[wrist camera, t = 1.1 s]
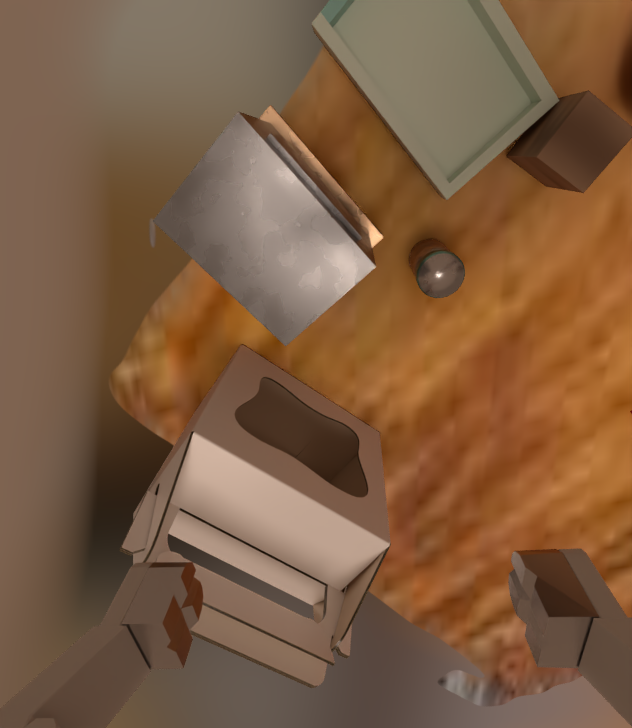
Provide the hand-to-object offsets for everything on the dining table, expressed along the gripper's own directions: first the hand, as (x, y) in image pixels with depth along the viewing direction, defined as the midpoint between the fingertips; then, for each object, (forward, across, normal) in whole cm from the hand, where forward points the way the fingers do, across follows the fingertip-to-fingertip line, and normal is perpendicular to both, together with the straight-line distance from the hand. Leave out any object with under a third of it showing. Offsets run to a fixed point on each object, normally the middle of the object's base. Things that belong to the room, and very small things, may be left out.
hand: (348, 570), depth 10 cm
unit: (+37, +5, -5) cm, 37 cm away
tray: (+36, -9, -16) cm, 41 cm away
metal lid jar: (+36, -9, 0) cm, 38 cm away
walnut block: (+36, -20, -9) cm, 42 cm away
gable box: (+38, +9, +21) cm, 44 cm away
